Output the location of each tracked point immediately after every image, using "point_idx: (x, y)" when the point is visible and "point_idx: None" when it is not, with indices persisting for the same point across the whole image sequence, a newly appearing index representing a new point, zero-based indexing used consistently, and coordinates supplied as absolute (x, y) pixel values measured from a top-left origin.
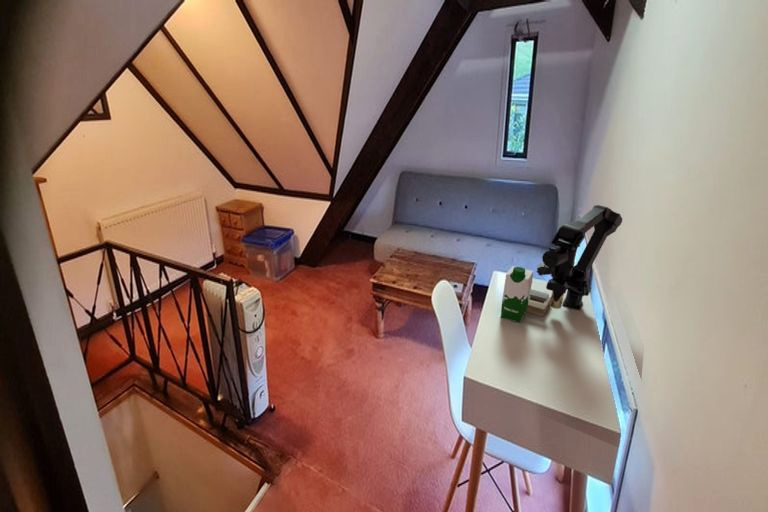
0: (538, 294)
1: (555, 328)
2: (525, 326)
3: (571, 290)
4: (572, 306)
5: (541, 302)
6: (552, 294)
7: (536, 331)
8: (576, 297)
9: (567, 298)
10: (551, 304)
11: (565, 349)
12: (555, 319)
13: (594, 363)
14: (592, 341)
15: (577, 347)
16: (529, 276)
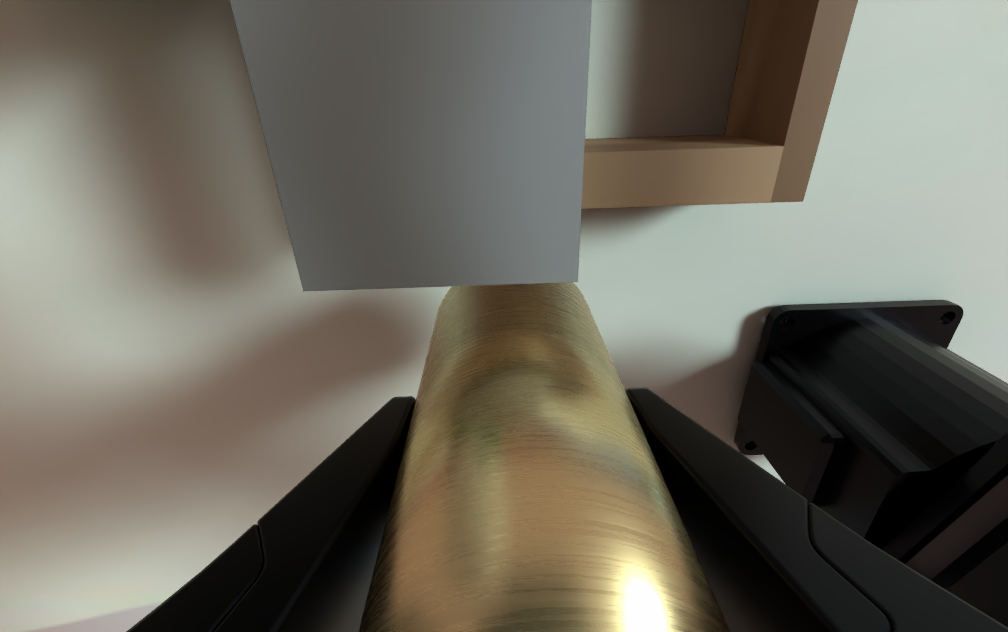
0: (368, 39)
1: (269, 351)
2: (2, 64)
3: (955, 497)
4: (745, 407)
5: (740, 72)
6: (439, 408)
7: (42, 215)
8: (827, 505)
9: (849, 380)
10: (442, 313)
11: (46, 468)
12: (432, 314)
13: (86, 599)
14: None
15: (155, 517)
16: None
